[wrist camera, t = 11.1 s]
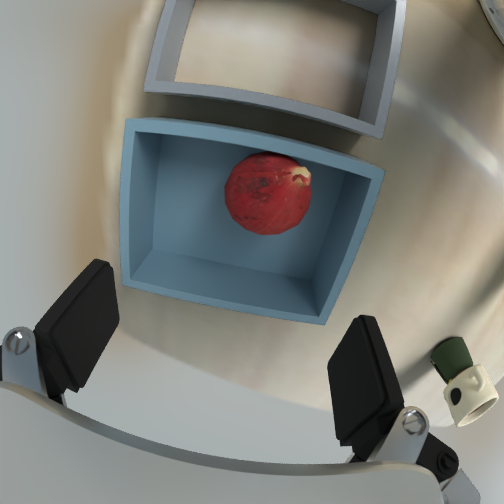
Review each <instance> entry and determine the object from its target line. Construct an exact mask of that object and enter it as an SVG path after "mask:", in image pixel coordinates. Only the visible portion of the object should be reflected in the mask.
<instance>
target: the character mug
mask: <svg viewBox="0 0 504 504" xmlns="http://www.w3.org/2000/svg"><path fill="white" fill-rule="evenodd" d="M432 359H433V360H434V362H435V364H433V363H432V361H431V363H432V364H433V366H434V367H435V369H436V371H437V372H438V373H439V375H440V376H441V377H442V379H443V380H444V382H445V383H446V384H447V386H446V388H445V389H444V392H443V393H444V398H445V400H446V402H447V403H448V406H449V409H450V412H451V415H452V418H453V419H454V422H455V425H456V427H462V426H465V425H467V424H469V423H471V422H473V421H474V420H476V419H478V418H479V417H480V416H482V415H483V414H484V413H485V412H487V411H488V410H489V409H490V408H491V407H492V406H493V405H494V404H495V403H496V401H497V400H498V398H499V396H498V393H497V391H496V390H495V388H494V386H493V384H492V382H491V380H490V378H489V376H488V375H487V373H486V371H485V369H484V368H483V367H482V366H481V365H480V364H478V365H474V366H473V361H472V358H471V356H470V353H469V351H468V348H467V346H466V344H465V342H464V340H463V338H462V337H456V338H453V339H450V340H448V341H446V342H444V343H442V344H441V345H440V346H439V347H438V348H437V349H436V350H435V351H434V353H433V354H432Z"/></svg>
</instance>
